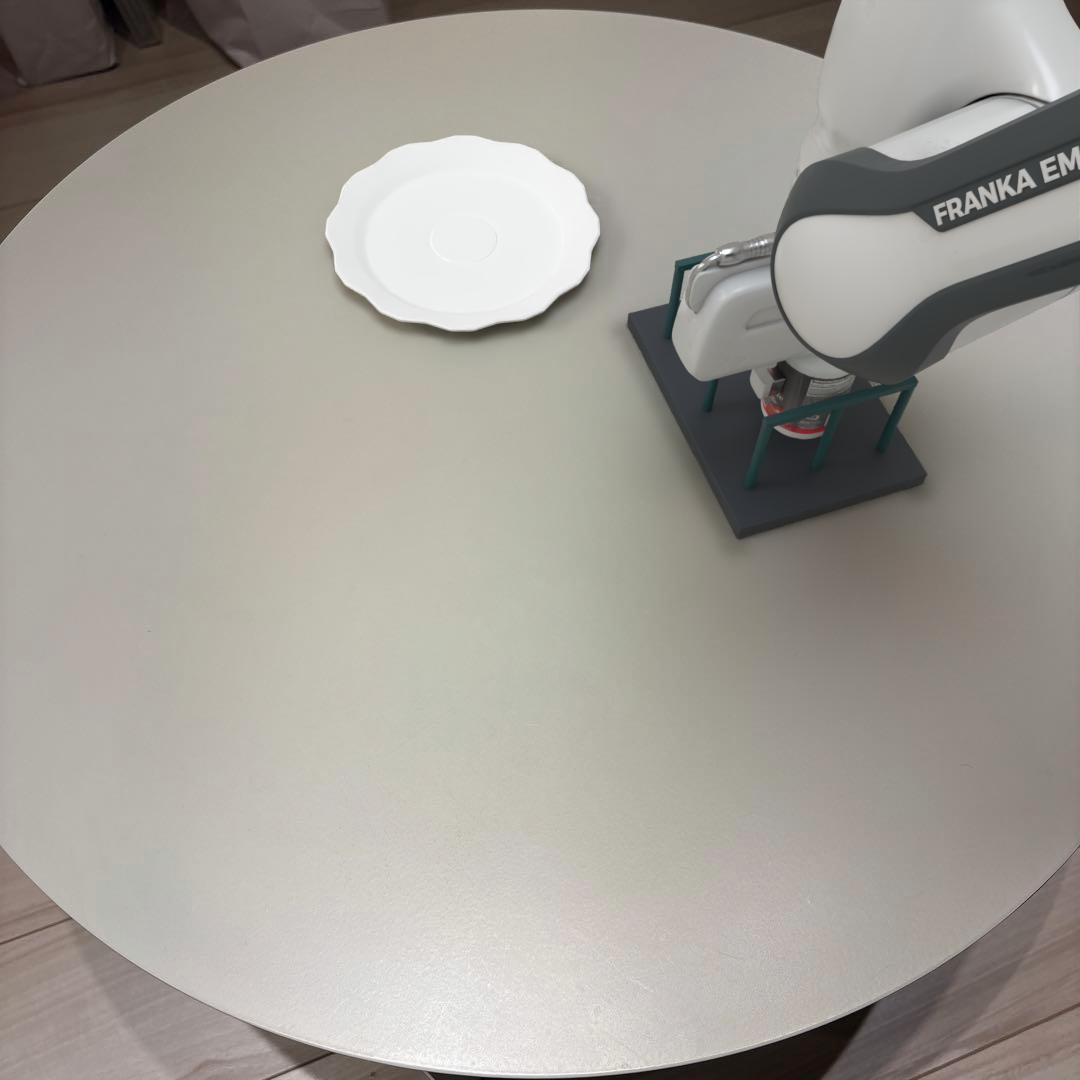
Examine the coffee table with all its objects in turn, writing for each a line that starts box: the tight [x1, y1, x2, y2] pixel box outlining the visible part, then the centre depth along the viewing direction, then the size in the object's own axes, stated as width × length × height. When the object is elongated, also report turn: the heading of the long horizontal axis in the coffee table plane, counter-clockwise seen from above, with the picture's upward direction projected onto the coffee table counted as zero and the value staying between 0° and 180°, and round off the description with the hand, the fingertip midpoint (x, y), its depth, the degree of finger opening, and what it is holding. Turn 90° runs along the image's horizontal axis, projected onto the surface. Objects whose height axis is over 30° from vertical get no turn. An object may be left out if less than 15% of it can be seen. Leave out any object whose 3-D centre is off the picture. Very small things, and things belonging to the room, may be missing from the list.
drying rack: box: [626, 250, 928, 539], centre depth 78 cm, size 20×14×8 cm
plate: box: [324, 134, 601, 332], centre depth 89 cm, size 21×21×2 cm
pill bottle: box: [761, 353, 856, 439], centre depth 73 cm, size 5×5×10 cm
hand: (811, 376), depth 74 cm, fingers closed on pill bottle, 5 cm apart
